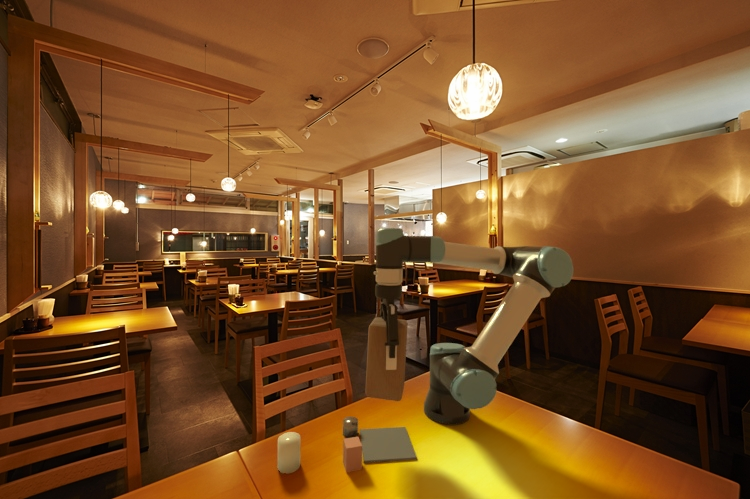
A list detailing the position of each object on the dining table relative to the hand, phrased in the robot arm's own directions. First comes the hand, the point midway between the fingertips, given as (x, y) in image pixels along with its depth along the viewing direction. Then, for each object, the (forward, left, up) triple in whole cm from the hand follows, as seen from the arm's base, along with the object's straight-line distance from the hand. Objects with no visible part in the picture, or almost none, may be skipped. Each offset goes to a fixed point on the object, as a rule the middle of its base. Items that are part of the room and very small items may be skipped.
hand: (387, 360), depth 90 cm
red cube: (+10, +7, -24) cm, 27 cm away
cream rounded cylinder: (+26, +6, -24) cm, 36 cm away
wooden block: (0, 0, -9) cm, 9 cm away
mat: (0, 0, -24) cm, 24 cm away
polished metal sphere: (+10, -6, -24) cm, 27 cm away
